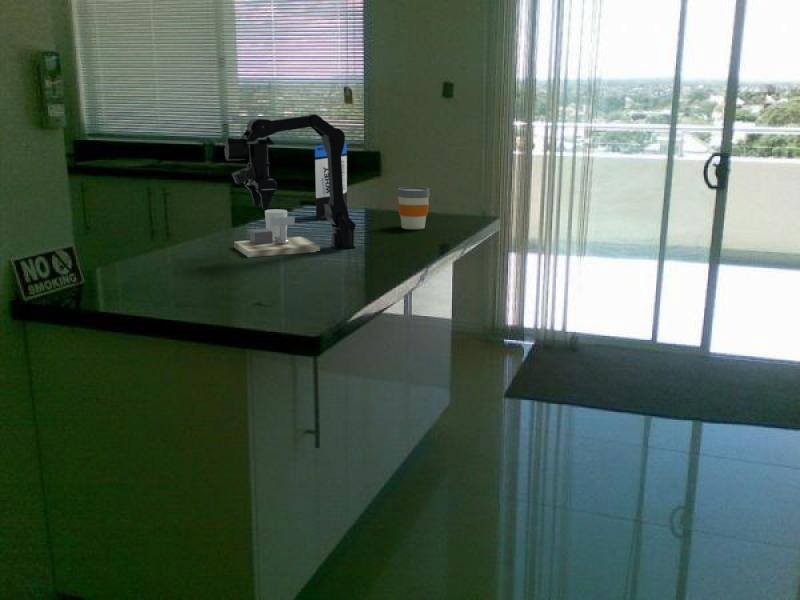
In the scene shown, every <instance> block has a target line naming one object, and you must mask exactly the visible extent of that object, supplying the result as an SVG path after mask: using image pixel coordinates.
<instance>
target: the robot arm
mask: <svg viewBox="0 0 800 600" xmlns="http://www.w3.org/2000/svg"><path fill="white" fill-rule="evenodd" d="M305 128H306V129H308V128H311V129H313V131H315V133H316V134H318V135H319V136H320V137H321V141H322V145H323V146H324V149H325V151H326V154H327V158H328V175H329V192H330V200H329V203H328V204H324V207H325V215H324V216H326V217H327V220H326V221H328V222H329V223H330V224H331V227H332V228H333V229H332V233H331V247H333V248H335V249H337V250H343V249H355V248H356V245H354V244H355V243H354V242H355V241H354V231H355V229H356V226H357V224H356V223H355V222H354V221H353V220H352V219H351V218H350V215H349V210H348V205H347V206H346V204H345V201H344V198H343V181H342V162H341V155H342V152H343V149H344V143H346V135H345V132H344V131H343V130H342V129H341V128H337V127H334V126H333V125H332V124H331V123H329V122H328V121H326V120H325V119H323V118H322V117H321V116H320V115H319V114H316V113H309V114H308V115H307V114H306V115H299V116H292V117H283V118H276V119H273V118H271V119H270V118H251V119H250V120H248V122H247V124H246V130H245V131H244V132H243V134H242V136H241V137H240V138H233V137H226V138H225V145H224V148H223V149H224V151H223V152H224V157H225V159H226V161H244V160H246V159H247V158H249V162H247V167H245V168H242V169H240V170H237V171H234V172H232V173H231V176H232V178H233V180H234V183H235V184H237V185H241V184H244V186H245V188H247V189H248V190H250V191H249V192H250V194H251V197H252V201H253V205H254V207H256V208H258V207H259V206H260V203H261V207H262V211H263V212H265V211H267V210H268V209H269V206H270V204H271V202H272V199H273V196H274V194H275V193H276V192H277V189H279V188H278V182H277V181H276V179H273V178H271V175H269V174H270V172H269V167H271V162H269V148H268V146H274V145H275V142H274V141H273V140H272V139H271V138H270V137H269V136H272V135H274V134H277V133H280V132H285V131H293V130H299V129H300V130H301V129H305ZM263 138H264V139H263Z"/></svg>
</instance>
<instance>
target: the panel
mask: <svg viewBox="0 0 800 600" xmlns="http://www.w3.org/2000/svg"><path fill="white" fill-rule="evenodd" d="M286 239H287V240H289V243H287V244H278V243H277V241H276V240H275V239H272V241H273V243H269V244H256V245H255V244H253V243H252V242H250V239H249V240H237V241H235V240H234V241H233V247H234V248H235V250H237V251H239V252H240V253H241V254H242V255H244V256H246V257H247V258H256V257H257V258H258V257H269V256H271V257H272V256H284V255H294V254H308V252H309V253H317V252H316V251H321V249H320V248H321V247H320V245H319V244H317V243H315V242H313V241H311V240H309V239H307V238H306V237H303V236H292V237H286Z"/></svg>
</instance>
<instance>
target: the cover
mask: <svg viewBox="0 0 800 600" xmlns="http://www.w3.org/2000/svg"><path fill="white" fill-rule="evenodd" d="M249 240H250V242H252V243H253V244H255V245H256V244H269V243H273V241H272V231H271V230H269V229H266V228H255V229H254V228H253V229H249Z"/></svg>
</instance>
